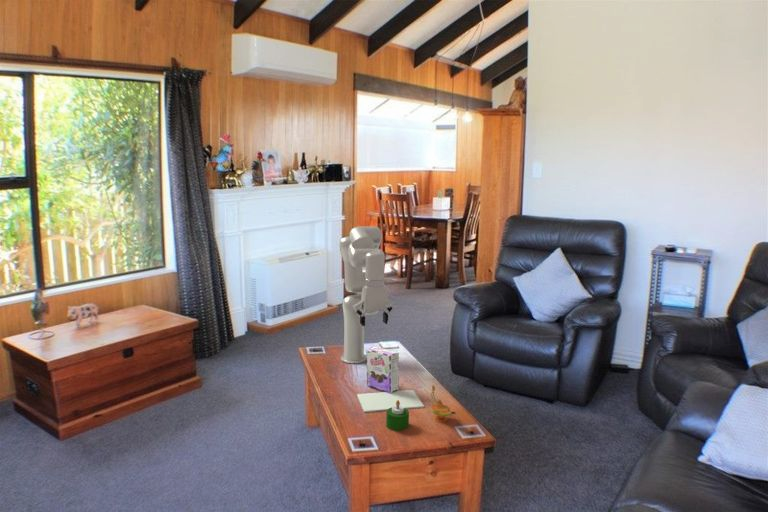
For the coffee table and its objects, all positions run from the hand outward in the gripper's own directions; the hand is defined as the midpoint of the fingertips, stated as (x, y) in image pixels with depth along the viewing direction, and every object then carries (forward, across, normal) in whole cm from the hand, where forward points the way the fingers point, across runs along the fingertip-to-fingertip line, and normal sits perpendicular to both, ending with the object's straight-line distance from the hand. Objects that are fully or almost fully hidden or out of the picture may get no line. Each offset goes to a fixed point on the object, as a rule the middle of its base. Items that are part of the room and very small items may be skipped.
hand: (374, 324), depth 236 cm
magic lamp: (+30, -16, +31) cm, 46 cm away
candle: (+31, +2, +29) cm, 42 cm away
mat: (+30, -4, +8) cm, 32 cm away
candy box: (+30, -6, -4) cm, 31 cm away
